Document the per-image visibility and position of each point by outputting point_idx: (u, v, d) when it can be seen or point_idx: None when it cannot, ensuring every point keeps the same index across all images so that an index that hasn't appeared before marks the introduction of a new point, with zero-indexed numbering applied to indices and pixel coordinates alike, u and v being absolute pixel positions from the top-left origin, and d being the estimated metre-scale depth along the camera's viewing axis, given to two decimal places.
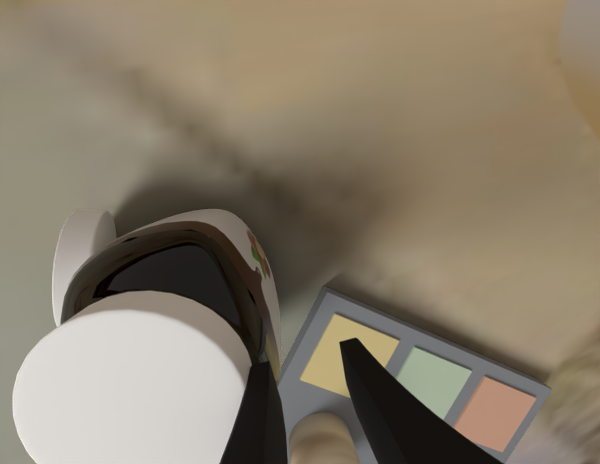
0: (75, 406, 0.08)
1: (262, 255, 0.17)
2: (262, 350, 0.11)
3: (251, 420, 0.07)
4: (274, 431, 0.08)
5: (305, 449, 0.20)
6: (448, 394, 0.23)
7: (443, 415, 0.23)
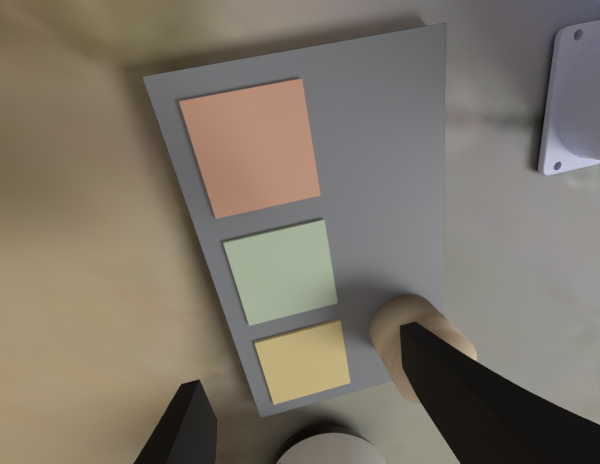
0: None
1: None
2: None
3: (158, 447, 0.07)
4: (189, 456, 0.08)
5: None
6: (272, 246, 0.16)
7: (302, 228, 0.16)
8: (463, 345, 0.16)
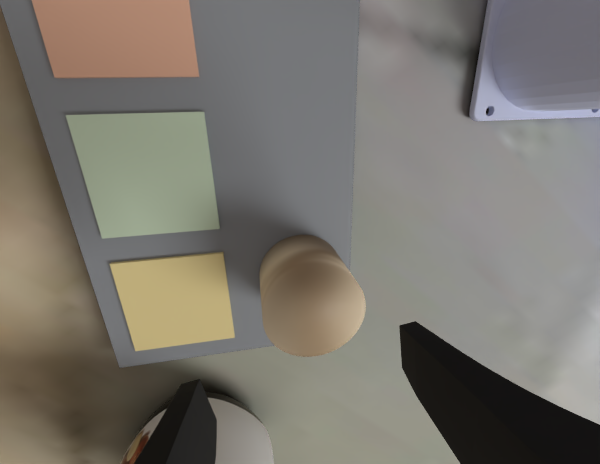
0: None
1: (136, 445, 0.18)
2: None
3: (158, 446, 0.07)
4: (189, 456, 0.08)
5: None
6: (133, 133, 0.13)
7: (174, 117, 0.13)
8: (348, 285, 0.13)
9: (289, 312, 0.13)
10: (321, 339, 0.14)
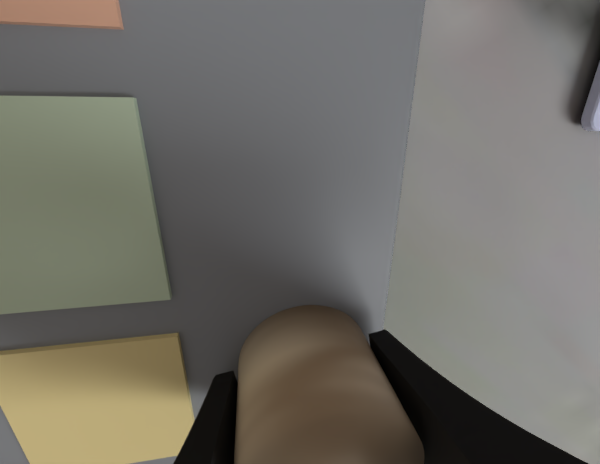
0: None
1: None
2: None
3: (203, 434, 0.07)
4: (230, 444, 0.08)
5: None
6: None
7: (74, 105, 0.07)
8: (398, 435, 0.07)
9: None
10: None
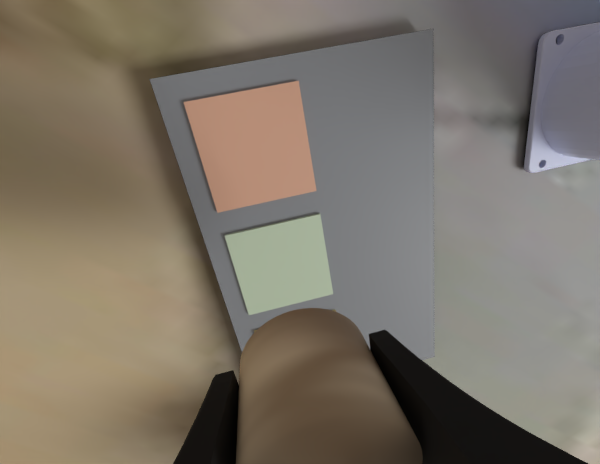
0: None
1: None
2: None
3: (203, 434, 0.07)
4: (230, 444, 0.08)
5: None
6: (271, 238, 0.17)
7: (299, 222, 0.17)
8: (394, 436, 0.07)
9: None
10: None
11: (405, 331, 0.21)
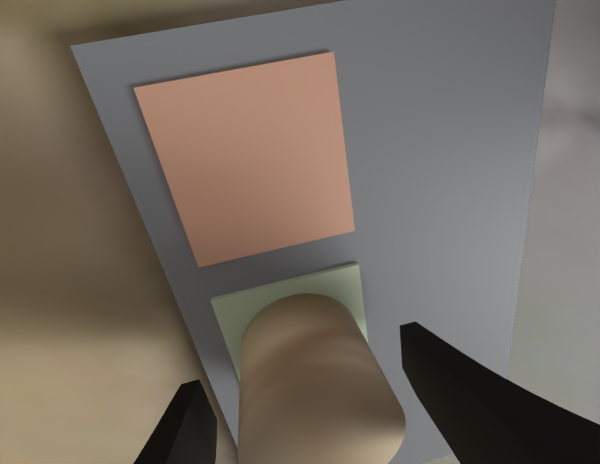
0: None
1: None
2: None
3: (158, 447, 0.07)
4: (189, 456, 0.08)
5: None
6: None
7: (326, 277, 0.11)
8: (380, 402, 0.08)
9: (282, 447, 0.08)
10: None
11: None
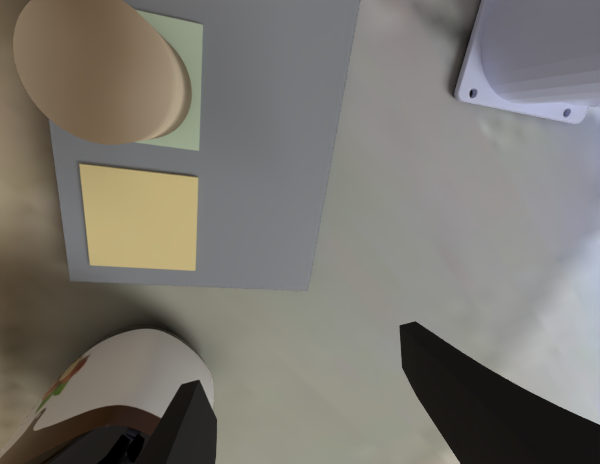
0: None
1: (72, 367, 0.17)
2: None
3: (158, 447, 0.07)
4: (189, 456, 0.08)
5: None
6: None
7: (172, 23, 0.13)
8: (149, 44, 0.10)
9: (57, 49, 0.09)
10: (101, 117, 0.10)
11: (280, 243, 0.18)
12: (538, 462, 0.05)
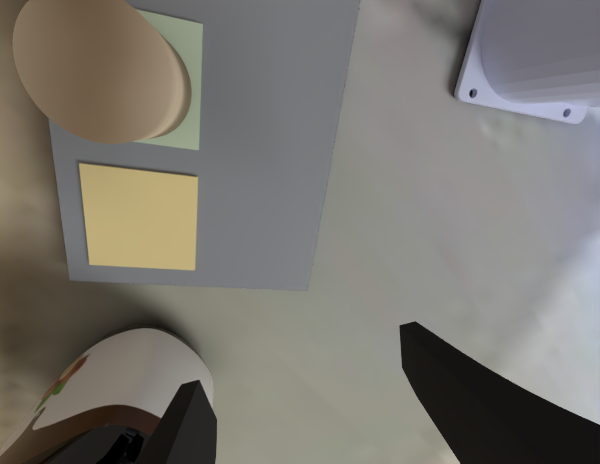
0: None
1: (72, 367, 0.17)
2: None
3: (158, 447, 0.07)
4: (189, 456, 0.08)
5: None
6: None
7: (172, 22, 0.13)
8: (149, 43, 0.10)
9: (57, 47, 0.09)
10: (100, 116, 0.10)
11: (280, 243, 0.18)
12: (538, 462, 0.05)
